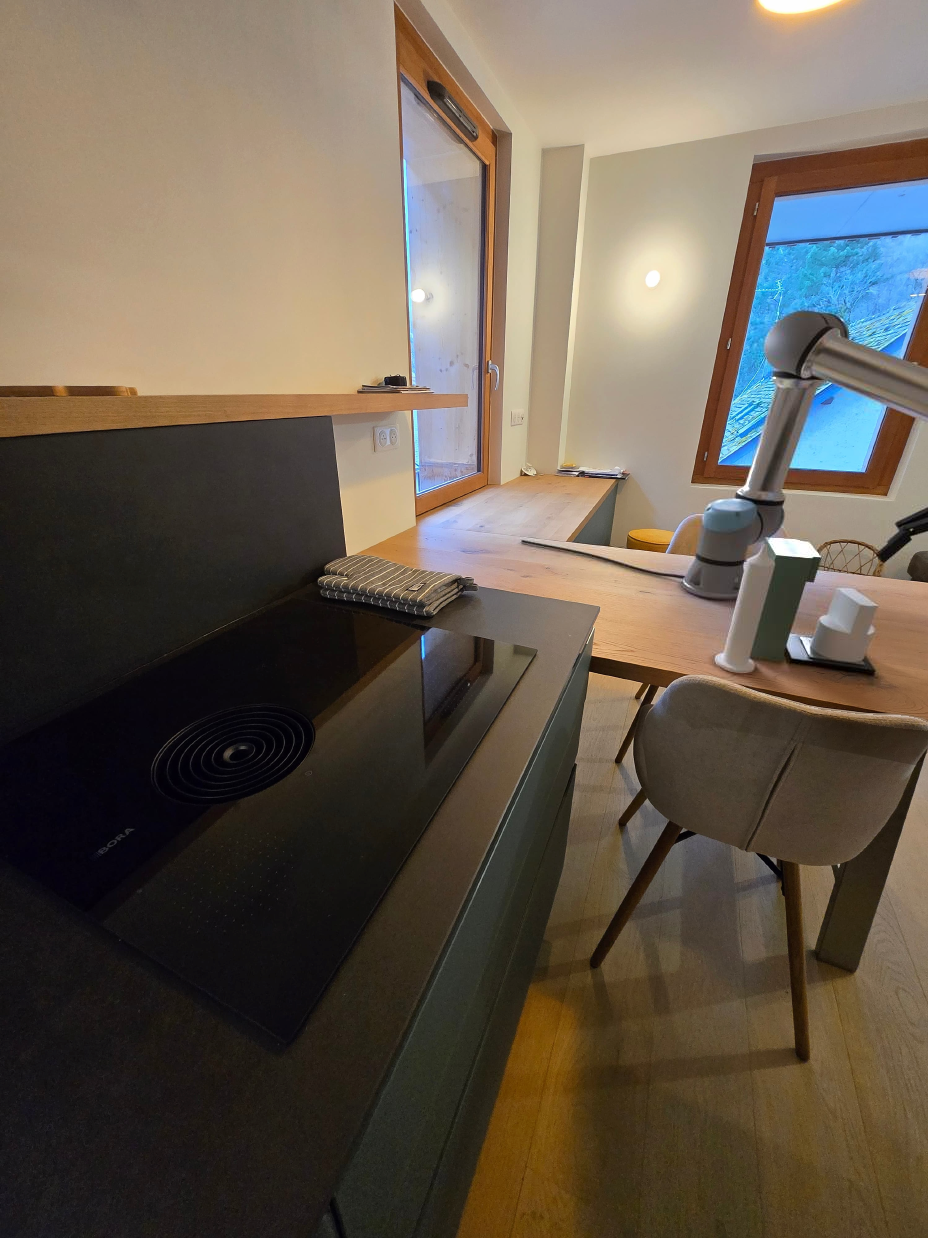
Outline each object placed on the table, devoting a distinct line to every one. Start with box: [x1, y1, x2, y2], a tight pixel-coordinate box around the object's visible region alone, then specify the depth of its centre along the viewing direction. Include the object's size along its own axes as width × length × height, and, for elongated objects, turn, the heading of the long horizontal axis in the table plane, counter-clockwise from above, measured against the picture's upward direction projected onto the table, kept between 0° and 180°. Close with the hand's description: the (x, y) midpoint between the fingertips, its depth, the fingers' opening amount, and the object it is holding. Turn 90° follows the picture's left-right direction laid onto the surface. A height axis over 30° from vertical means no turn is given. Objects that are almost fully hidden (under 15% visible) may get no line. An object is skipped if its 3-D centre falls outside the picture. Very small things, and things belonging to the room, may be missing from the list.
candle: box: [714, 543, 775, 674], centre depth 93 cm, size 7×7×25 cm
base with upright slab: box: [811, 587, 879, 662], centre depth 97 cm, size 9×9×12 cm
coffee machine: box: [749, 537, 877, 676], centre depth 98 cm, size 22×12×22 cm, turn 70°
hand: (911, 569), depth 95 cm, fingers open, 13 cm apart
